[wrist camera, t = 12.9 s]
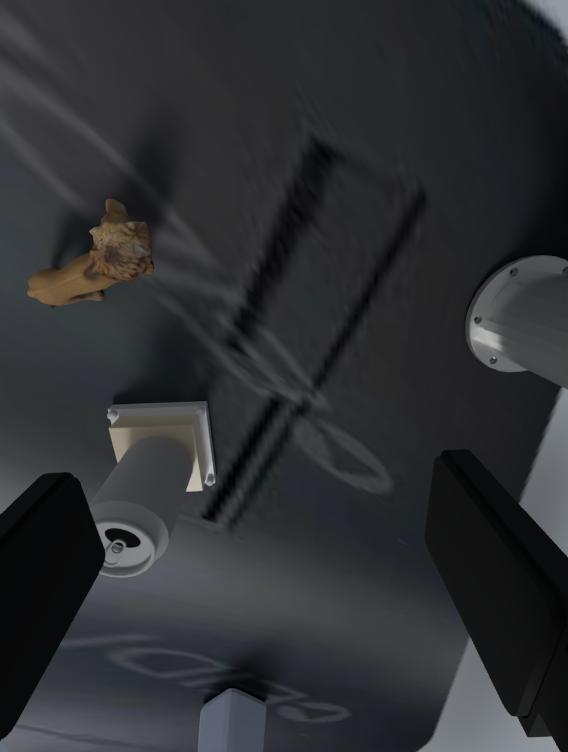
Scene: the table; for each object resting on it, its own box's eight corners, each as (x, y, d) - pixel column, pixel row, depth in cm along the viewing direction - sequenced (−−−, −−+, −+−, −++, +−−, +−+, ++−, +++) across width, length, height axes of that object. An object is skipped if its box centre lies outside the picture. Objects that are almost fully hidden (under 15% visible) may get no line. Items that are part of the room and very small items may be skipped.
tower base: (207, 401, 39) (201, 416, 35) (216, 476, 43) (211, 496, 39) (112, 404, 38) (97, 420, 35) (131, 480, 42) (119, 501, 39)
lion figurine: (149, 200, 31) (104, 184, 22) (185, 252, 32) (155, 255, 24) (35, 285, 33) (-44, 300, 25) (74, 329, 35) (13, 356, 26)
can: (206, 449, 37) (178, 539, 26) (178, 495, 39) (141, 596, 28) (142, 420, 35) (83, 503, 24) (117, 470, 37) (52, 567, 26)
